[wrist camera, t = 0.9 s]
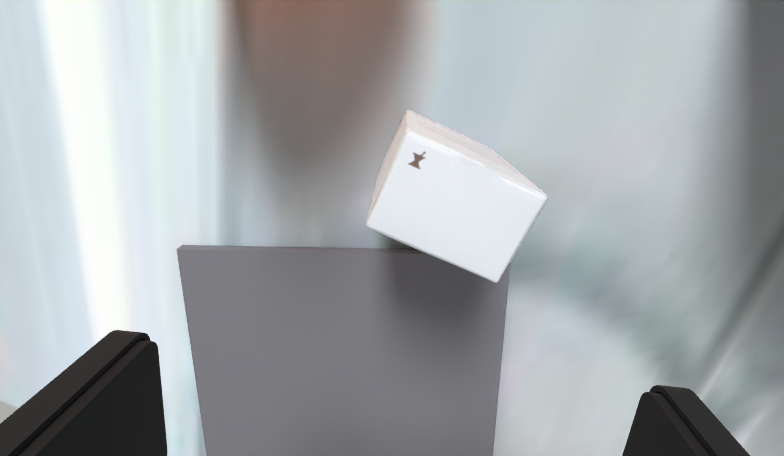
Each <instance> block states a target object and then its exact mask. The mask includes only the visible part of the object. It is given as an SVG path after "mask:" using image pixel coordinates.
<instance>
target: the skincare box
mask: <svg viewBox="0 0 784 456" xmlns="http://www.w3.org/2000/svg"><path fill="white" fill-rule="evenodd" d="M547 200H548V196H547V195H546V194H545V193H544V192H542V191H541V190H540V189H539V188H538V187H536V186H535V185H534V184H533V183H532V182H531V181H529V180H528V179H527V178H526V177H525V176H523V175H522V174H521V173H520V172H519V171H517V170H516V169H515V168H514V167H512V166H511V165H510V164H509V163H507V162H506V161H505V160H504V159H503V158H501V157H500V156H499V155H498V154H497V153H495V152H494V151H493V150H492V149H491V148H489V147H487V146H484V145H482V144H480V143H478V142H476V141H474V140H472V139H470V138H468V137H466V136H464V135H462V134H460V133H458V132H456V131H454V130H452V129H449V128H447V127H445V126H443V125H441V124H439V123H437V122H434V121H432V120H430V119H428V118H426V117H424V116H421V115H419V114H417V113H415V112H413V111H411V110H409V109H407V110H406V112H405V114H404V116H403V118H402V120H401V122H400V125H399V127H398V129H397V131H396V133H395V135H394V137H393V140H392V142H391V144H390V146H389V149H388V151H387V154H386V156H385V158H384V161H383V163H382V165H381V167H380V171H379V174H378V178H377V181H376V185H375V189H374V193H373V197H372V200H371V204H370V208H369V212H368V215H367V219H366V227H367V228H369V229H372V230H374V231H376V232H378V233H381V234H383V235H385V236H387V237H390V238H392V239H394V240H397V241H399V242H401V243H403V244H406V245H408V246H410V247H412V248H415V249H417V250H419V251H422V252H424V253H427V254H429V255H431V256H434V257H436V258H439V259H441V260H444V261H446V262H448V263H451V264H453V265H456V266H458V267H460V268H462V269H465V270H467V271H469V272H472V273H474V274H476V275H479V276H481V277H483V278H485V279H488V280H490V281H492V282H494V283H497V282H498V281H499V279H500V278H501V276H502V274H503V273H504V271H505V269H506V268H507V266H508V264H509V263H510V261H511V260H512V258H513V256H514V255H515V253H516V251H517V250H518V248H519V246H520V245H521V243H522V241H523V240H524V238H525V237H526V235H527V233H528V232H529V230H530V228H531V227H532V225H533V223H534V222H535V220H536V218H537V217H538V215H539V214H540V212H541V210H542V209H543V207H544V205H545V203H546V202H547Z"/></svg>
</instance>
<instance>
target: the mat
mask: <svg viewBox="0 0 784 456" xmlns="http://www.w3.org/2000/svg"><path fill="white" fill-rule="evenodd" d="M177 255H178V262H179V268H180V275H181V282H182V289H183V296H184V303H185V310H186V317H187V323H188V330H189V337H190V344H191V351H192V358H193V365H194V372H195V378H196V385H197V392H198V399H199V406H200V413H201V420H202V426H203V433H204V440H205V447H206V454H207V456H493V446H494V435H495V424H496V413H497V402H498V391H499V380H500V370H501V359H502V348H503V337H504V326H505V315H506V304H507V293H508V282H509V271H510V263H509V264H508V266H507V268H506V269H505V271H504V273H503V274H502V276H501V278H500V279H499V281H498V282H497V283H494V282H492V281H490V280H488V279H485V278H483V277H481V276H479V275H476V274H474V273H472V272H469V271H467V270H465V269H462V268H460V267H458V266H456V265H453V264H451V263H448V262H446V261H444V260H441V259H439V258H436V257H434V256H431V255H429V254H427V253H424V252H422V251H419V250H417V249H363V248H308V247H253V246H198V245H182V246H181V247H179V248H178V249H177Z"/></svg>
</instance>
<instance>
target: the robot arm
mask: <svg viewBox="0 0 784 456" xmlns="http://www.w3.org/2000/svg"><path fill="white" fill-rule="evenodd" d="M0 456H167V442H166V431H165V420H164V409H163V398H162V387H161V377H160V366H159V355H158V347H157V344H156V343H155V342H152V341H150V338H149V336H148V334H146V333H140V332H130V331H121V330H115V331H112V332H110V333H109V334H108V335H106V336H105V337H104V338H103V339H102V340H100V341H99V342H98V343H97V344H96V345H94V346H93V347H92V348H91V349H90V350H88V351H87V352H86V353H85V354H84V355H82V356H81V357H80V358H79V359H78V360H76V361H75V362H74V363H73V364H72V365H70V366H69V367H68V368H67V369H66V370H64V371H63V372H62V373H61V374H60V375H58V376H57V377H56V378H55V379H54V380H52V381H51V382H50V383H49V384H48V385H46V386H45V387H44V388H43V389H42V390H40V391H39V392H38V393H37V394H36V395H34V396H33V397H32V398H31V399H30V400H28V401H27V402H26V403H25V404H24V405H22V406H21V407H20V408H19V409H18V410H16V411H15V412H14V413H13V414H12V415H10V416H9V417H8V418H7V419H6V420H4V421H3V422H2V423H1V424H0ZM623 456H750V455H749V454H748V453H747V452H746V451H745V449H744V448H743V447H742V446H741V445H740V444H739V443H738V442H737V440H736V439H735V438H734V437H733V436H732V435H731V434H730V432H729V431H728V430H727V429H726V428H725V427H724V426H723V425H722V423H721V422H720V421H719V420H718V419H717V418H716V417H715V415H714V414H713V413H712V412H711V411H710V410H709V409H708V408H707V406H706V405H705V404H704V403H703V402H702V401H701V400H700V399H699V397H698V396H697V395H696V394H695V393H694V392H693V391H692V390H690V389H687V388H680V387H670V386H661V385H656V386H653V387H652V388H651V389H650V392H645V393H643V394H642V396H641V398H640V401H639V404H638V407H637V411H636V414H635V417H634V420H633V423H632V427H631V430H630V433H629V436H628V439H627V443H626V446H625V449H624V452H623Z"/></svg>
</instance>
